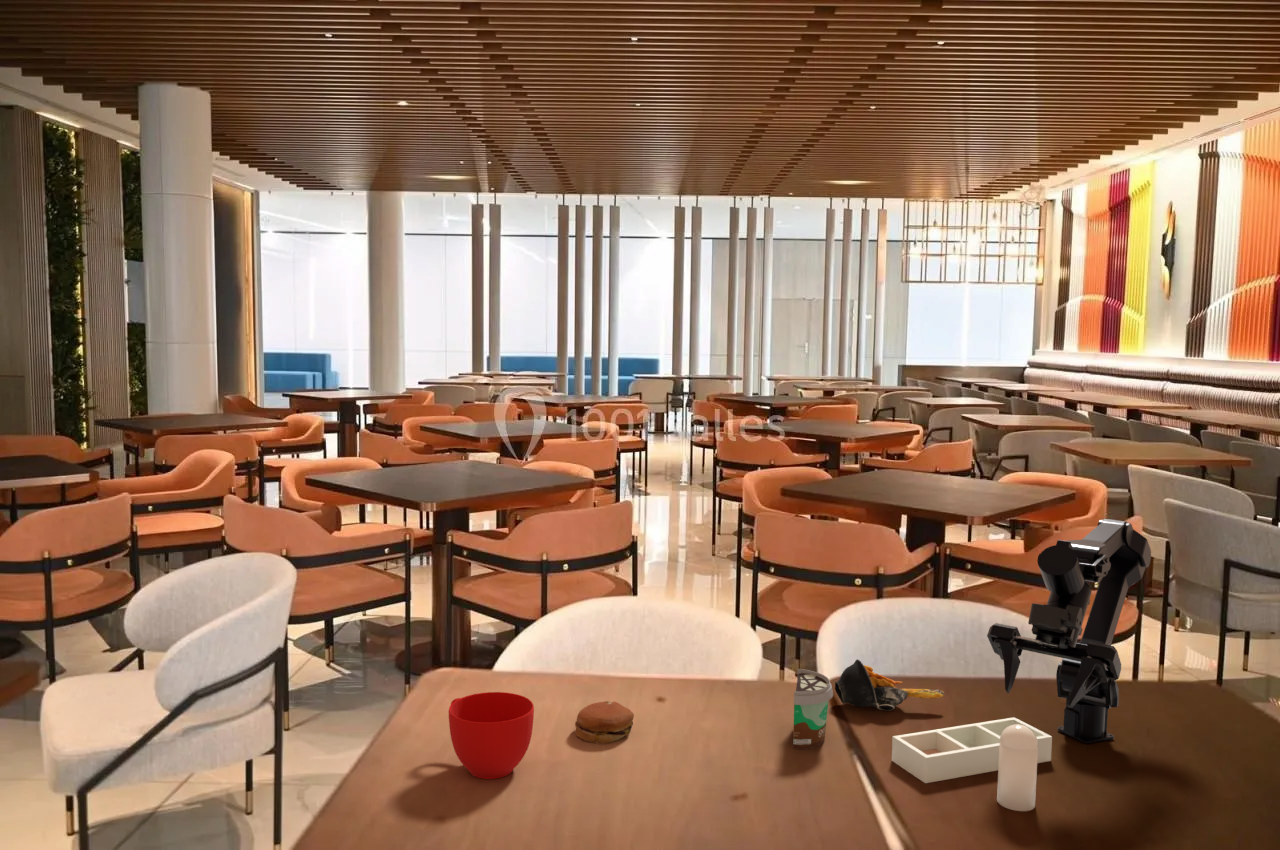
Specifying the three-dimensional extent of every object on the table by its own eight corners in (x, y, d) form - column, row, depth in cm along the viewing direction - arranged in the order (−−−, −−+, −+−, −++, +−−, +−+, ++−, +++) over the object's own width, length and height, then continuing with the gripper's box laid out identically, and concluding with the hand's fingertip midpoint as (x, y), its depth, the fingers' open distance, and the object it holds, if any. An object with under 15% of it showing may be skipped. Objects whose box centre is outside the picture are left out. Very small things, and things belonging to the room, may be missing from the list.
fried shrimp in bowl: (824, 670, 189) (913, 639, 190) (847, 729, 186) (937, 696, 187) (832, 668, 180) (925, 635, 182) (855, 729, 177) (950, 695, 178)
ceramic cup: (485, 738, 167) (485, 679, 166) (550, 770, 155) (551, 707, 154) (418, 760, 158) (417, 699, 157) (481, 797, 146) (481, 730, 145)
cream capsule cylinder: (1017, 792, 150) (1021, 716, 149) (1042, 807, 145) (1046, 729, 144) (989, 797, 148) (992, 721, 147) (1014, 813, 143) (1017, 734, 142)
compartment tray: (1013, 740, 169) (1014, 717, 169) (1050, 760, 161) (1052, 736, 161) (891, 760, 160) (892, 736, 160) (925, 783, 153) (926, 757, 152)
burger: (578, 746, 165) (578, 718, 164) (573, 724, 174) (573, 698, 174) (637, 743, 166) (638, 716, 166) (630, 722, 175) (630, 696, 175)
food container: (831, 755, 162) (833, 695, 161) (792, 752, 163) (794, 692, 162) (832, 726, 174) (834, 670, 173) (796, 723, 175) (797, 667, 174)
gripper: (994, 572, 160) (963, 657, 152) (1120, 593, 148) (1093, 686, 140) (1009, 611, 166) (981, 694, 159) (1131, 634, 154) (1107, 724, 147)
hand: (1037, 698), depth 151 cm, fingers open, 9 cm apart
